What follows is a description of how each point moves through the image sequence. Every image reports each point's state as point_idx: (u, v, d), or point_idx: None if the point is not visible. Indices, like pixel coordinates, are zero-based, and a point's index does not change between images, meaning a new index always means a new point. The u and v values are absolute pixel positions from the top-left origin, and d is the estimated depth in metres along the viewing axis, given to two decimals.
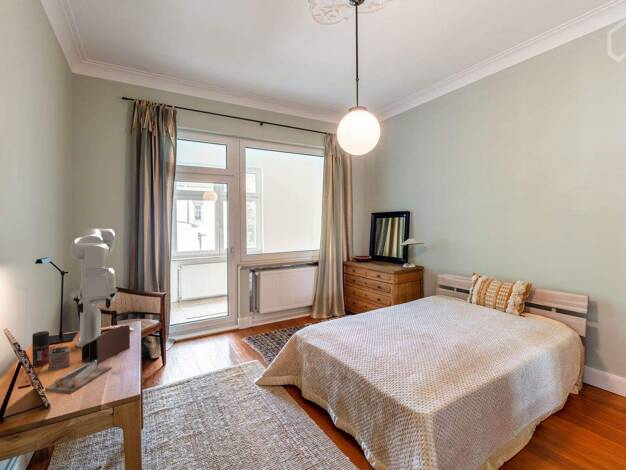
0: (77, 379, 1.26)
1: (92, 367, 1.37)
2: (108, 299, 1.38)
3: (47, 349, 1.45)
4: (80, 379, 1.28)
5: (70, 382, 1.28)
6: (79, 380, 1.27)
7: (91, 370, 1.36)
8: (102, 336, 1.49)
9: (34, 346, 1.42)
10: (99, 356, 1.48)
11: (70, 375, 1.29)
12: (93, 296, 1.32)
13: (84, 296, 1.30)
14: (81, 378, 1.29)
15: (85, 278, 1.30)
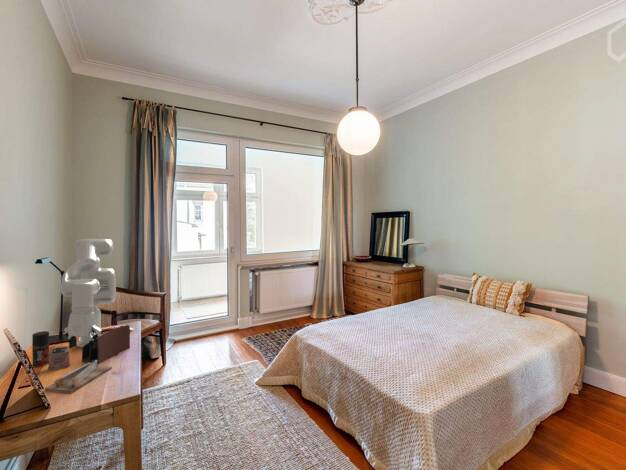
0: (77, 379, 1.26)
1: (92, 367, 1.37)
2: None
3: (47, 349, 1.45)
4: (80, 379, 1.28)
5: (70, 382, 1.28)
6: (79, 380, 1.27)
7: (91, 370, 1.36)
8: (103, 336, 1.49)
9: (34, 346, 1.42)
10: (100, 356, 1.48)
11: (70, 375, 1.29)
12: None
13: None
14: (81, 378, 1.29)
15: None
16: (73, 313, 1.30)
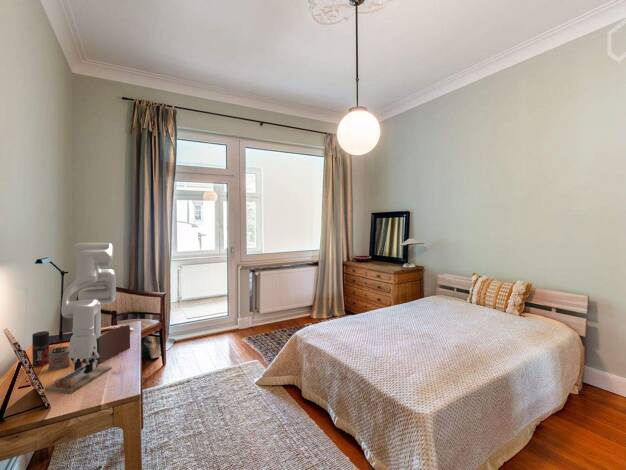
0: (73, 379, 1.26)
1: None
2: (79, 361, 1.35)
3: (47, 349, 1.45)
4: (77, 379, 1.28)
5: None
6: (76, 380, 1.27)
7: None
8: (103, 336, 1.50)
9: (34, 346, 1.42)
10: (100, 356, 1.48)
11: (70, 375, 1.29)
12: None
13: None
14: (78, 378, 1.28)
15: None
16: (74, 335, 1.31)
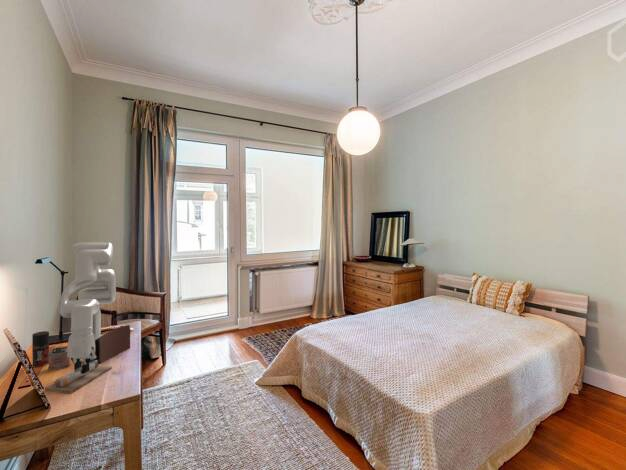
0: (66, 379, 1.25)
1: None
2: (79, 361, 1.35)
3: (47, 349, 1.45)
4: (70, 379, 1.27)
5: None
6: (69, 380, 1.27)
7: None
8: (104, 336, 1.50)
9: (34, 346, 1.42)
10: (101, 356, 1.48)
11: None
12: None
13: None
14: (72, 378, 1.28)
15: None
16: (72, 335, 1.31)
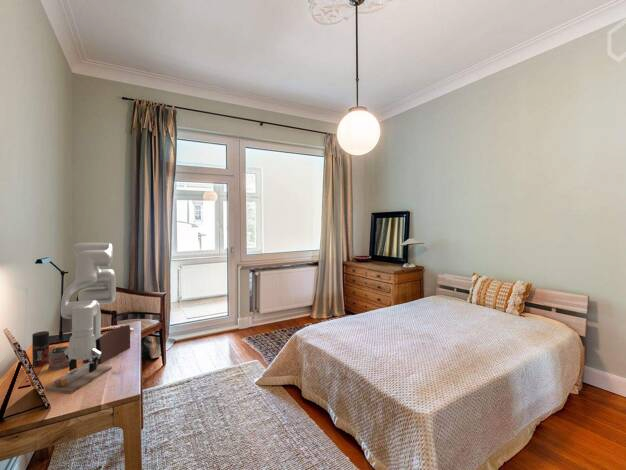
0: (66, 379, 1.25)
1: (88, 367, 1.36)
2: None
3: (47, 349, 1.45)
4: (70, 379, 1.27)
5: None
6: (69, 380, 1.27)
7: (87, 370, 1.36)
8: (105, 336, 1.50)
9: (34, 346, 1.42)
10: (102, 356, 1.48)
11: None
12: None
13: None
14: (72, 378, 1.28)
15: None
16: (73, 337, 1.31)
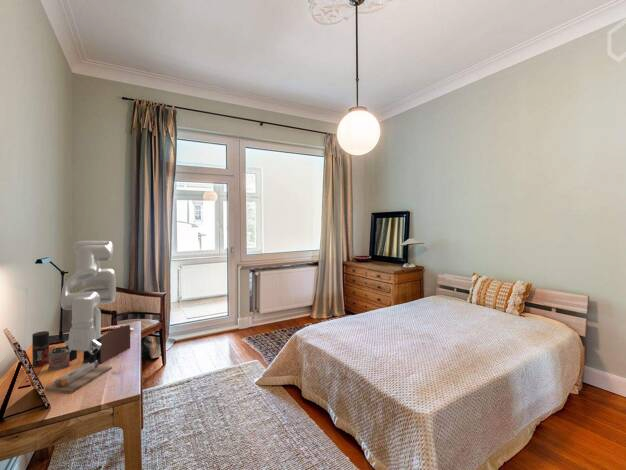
0: (66, 379, 1.25)
1: (88, 367, 1.36)
2: (74, 350, 1.36)
3: (47, 349, 1.45)
4: (70, 379, 1.27)
5: None
6: (69, 380, 1.27)
7: (87, 370, 1.36)
8: (105, 336, 1.50)
9: (34, 346, 1.42)
10: (102, 356, 1.48)
11: None
12: None
13: None
14: (72, 378, 1.28)
15: None
16: (73, 328, 1.31)
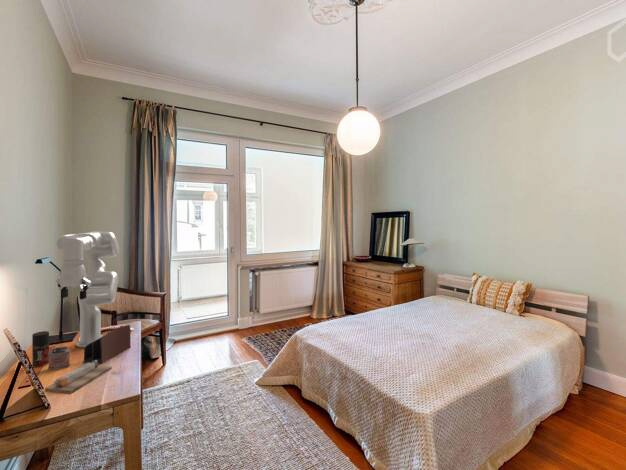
0: (66, 379, 1.25)
1: (88, 367, 1.36)
2: (65, 288, 1.46)
3: (47, 349, 1.45)
4: (70, 379, 1.27)
5: None
6: (69, 380, 1.27)
7: (87, 370, 1.36)
8: (105, 336, 1.50)
9: (34, 346, 1.42)
10: (103, 356, 1.48)
11: None
12: None
13: None
14: (72, 378, 1.28)
15: None
16: (64, 265, 1.41)
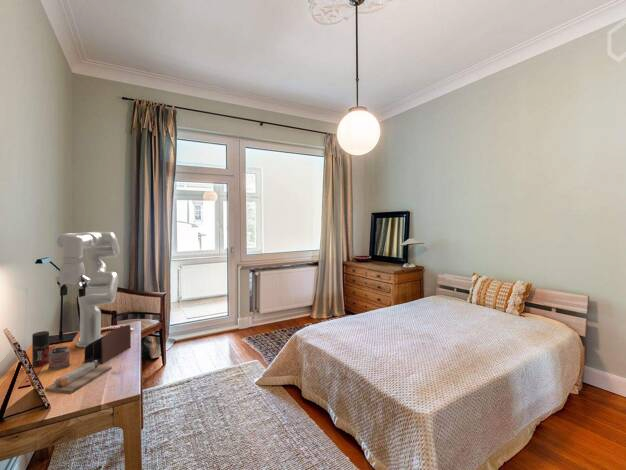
0: (66, 379, 1.25)
1: (88, 367, 1.36)
2: None
3: (47, 349, 1.45)
4: (70, 379, 1.27)
5: None
6: (69, 380, 1.27)
7: (87, 370, 1.36)
8: (106, 336, 1.50)
9: (34, 346, 1.42)
10: (104, 356, 1.48)
11: None
12: None
13: None
14: (72, 378, 1.28)
15: None
16: (64, 263, 1.41)
